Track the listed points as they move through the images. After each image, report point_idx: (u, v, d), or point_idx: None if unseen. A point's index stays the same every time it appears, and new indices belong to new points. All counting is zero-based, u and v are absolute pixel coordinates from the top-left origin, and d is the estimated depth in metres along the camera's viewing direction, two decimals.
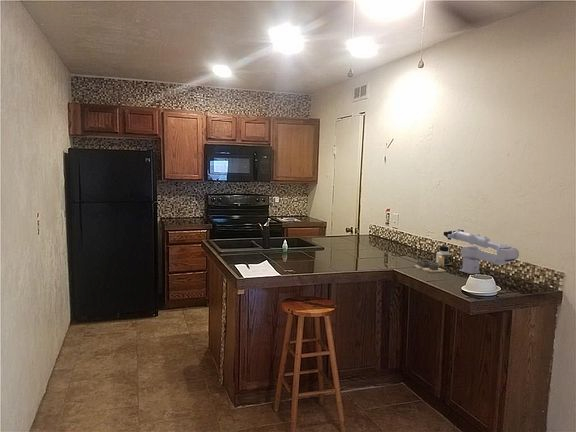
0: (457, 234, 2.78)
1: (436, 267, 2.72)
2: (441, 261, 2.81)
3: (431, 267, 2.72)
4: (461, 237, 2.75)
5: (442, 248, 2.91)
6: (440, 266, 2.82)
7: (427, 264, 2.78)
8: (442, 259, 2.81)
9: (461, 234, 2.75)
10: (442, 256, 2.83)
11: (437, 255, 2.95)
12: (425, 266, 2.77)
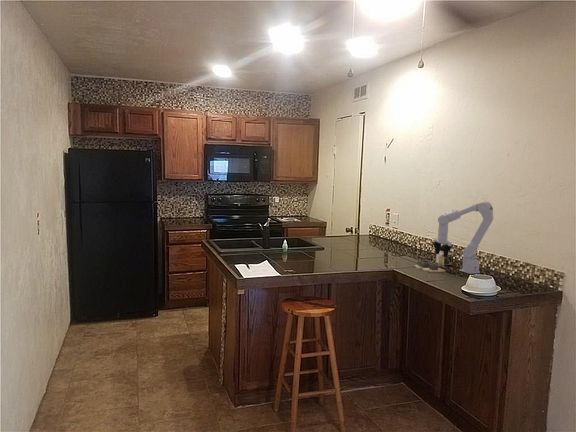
0: (443, 239, 2.78)
1: (436, 267, 2.72)
2: (441, 261, 2.81)
3: (431, 267, 2.72)
4: (441, 233, 2.78)
5: (442, 248, 2.91)
6: (440, 266, 2.82)
7: (427, 264, 2.78)
8: (442, 259, 2.81)
9: (443, 234, 2.78)
10: (442, 256, 2.83)
11: (437, 255, 2.95)
12: (425, 266, 2.77)
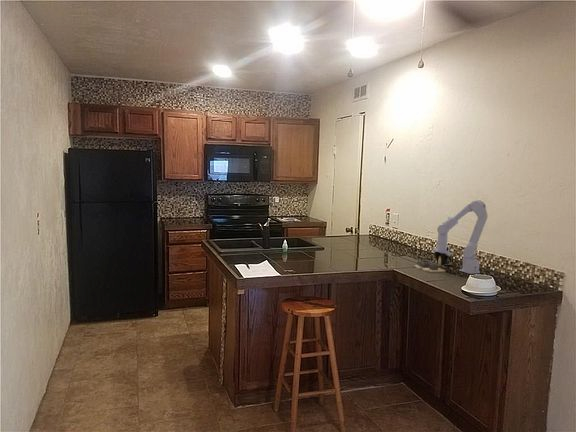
0: (443, 248, 2.79)
1: (436, 267, 2.72)
2: None
3: (431, 267, 2.72)
4: (441, 242, 2.79)
5: None
6: (440, 266, 2.82)
7: (427, 264, 2.78)
8: None
9: (442, 243, 2.79)
10: None
11: None
12: (425, 266, 2.77)
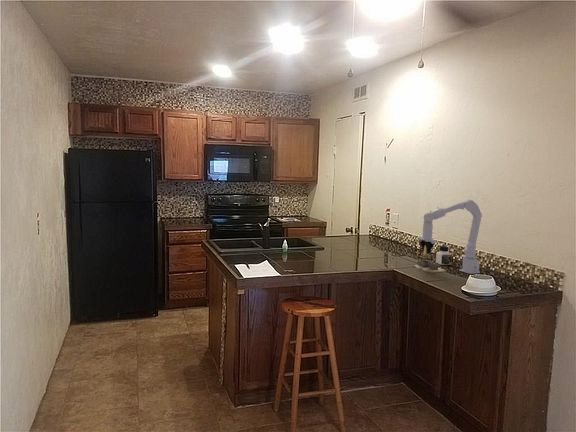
0: (428, 237, 2.76)
1: (436, 267, 2.72)
2: None
3: (431, 267, 2.72)
4: (427, 230, 2.76)
5: (442, 248, 2.91)
6: (425, 255, 2.79)
7: (427, 264, 2.78)
8: None
9: (427, 232, 2.76)
10: None
11: (437, 255, 2.95)
12: (425, 266, 2.77)
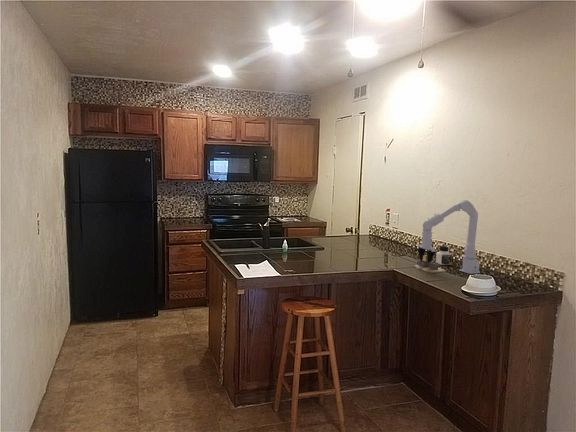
0: (427, 245, 2.77)
1: (436, 267, 2.72)
2: (425, 260, 2.79)
3: (431, 267, 2.72)
4: (427, 238, 2.77)
5: (442, 248, 2.91)
6: None
7: (427, 264, 2.78)
8: (426, 258, 2.79)
9: (426, 240, 2.77)
10: None
11: (437, 255, 2.95)
12: (425, 266, 2.77)
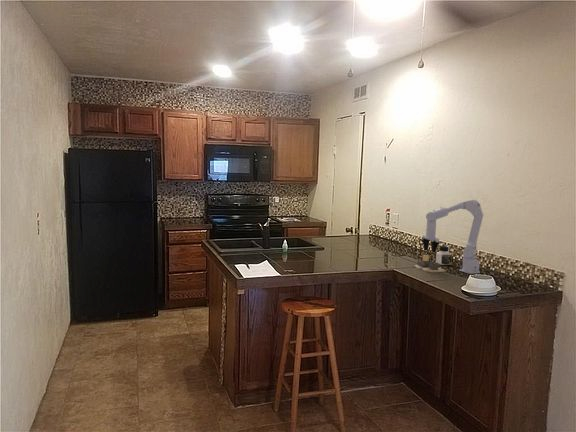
0: (431, 235, 2.82)
1: (436, 267, 2.72)
2: (425, 260, 2.79)
3: (431, 267, 2.72)
4: (430, 229, 2.82)
5: (442, 248, 2.91)
6: None
7: (427, 264, 2.78)
8: (426, 258, 2.79)
9: (431, 230, 2.82)
10: (427, 255, 2.81)
11: (437, 255, 2.95)
12: (425, 266, 2.77)
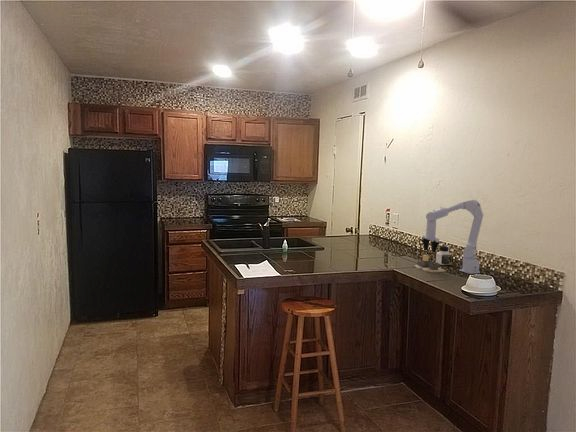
0: (431, 235, 2.82)
1: (436, 267, 2.72)
2: (425, 260, 2.79)
3: (431, 267, 2.72)
4: (430, 229, 2.82)
5: (442, 248, 2.91)
6: None
7: (427, 264, 2.78)
8: (426, 258, 2.79)
9: (431, 230, 2.82)
10: (427, 255, 2.81)
11: (437, 255, 2.95)
12: (425, 266, 2.77)
